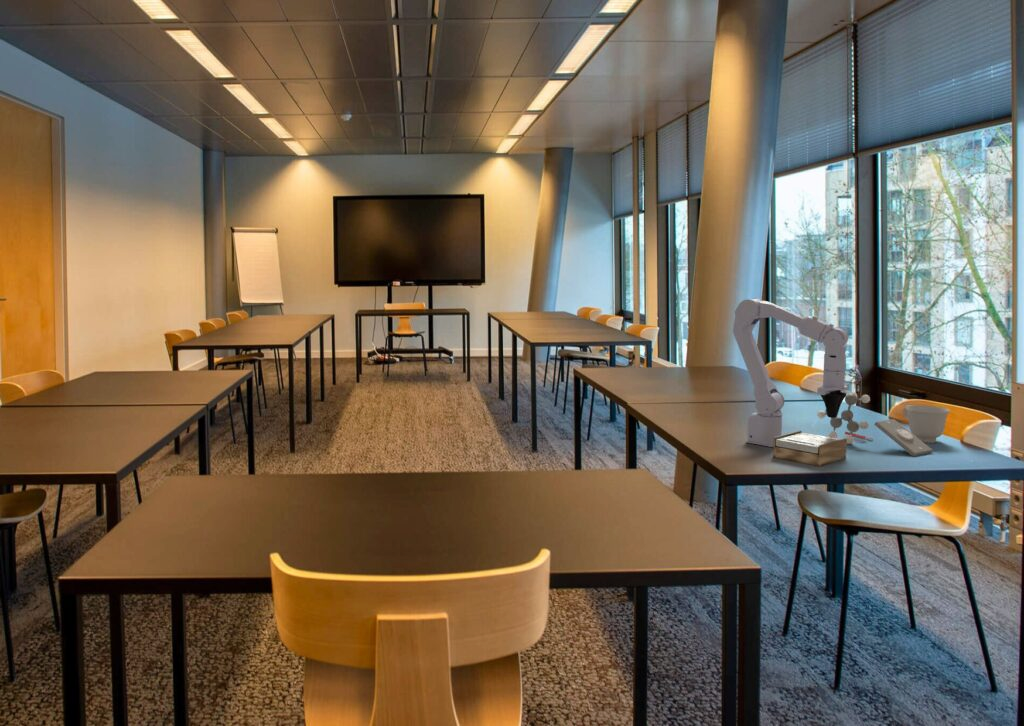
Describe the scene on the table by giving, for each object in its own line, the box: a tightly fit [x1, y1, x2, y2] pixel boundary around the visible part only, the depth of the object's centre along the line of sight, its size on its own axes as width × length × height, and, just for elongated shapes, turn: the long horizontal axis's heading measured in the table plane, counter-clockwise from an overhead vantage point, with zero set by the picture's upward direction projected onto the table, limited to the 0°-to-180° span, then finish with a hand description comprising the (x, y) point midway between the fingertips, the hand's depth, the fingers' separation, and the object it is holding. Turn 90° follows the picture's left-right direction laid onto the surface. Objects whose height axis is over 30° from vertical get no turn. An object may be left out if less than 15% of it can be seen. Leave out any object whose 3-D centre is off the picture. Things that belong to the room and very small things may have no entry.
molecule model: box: [816, 390, 874, 445], centre depth 240 cm, size 20×16×16 cm
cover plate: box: [776, 432, 841, 454], centre depth 217 cm, size 12×14×2 cm
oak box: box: [772, 430, 847, 467], centre depth 217 cm, size 14×14×6 cm
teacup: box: [902, 404, 951, 444], centre depth 239 cm, size 12×15×10 cm
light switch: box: [874, 418, 934, 457], centre depth 226 cm, size 8×6×14 cm
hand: (832, 417), depth 224 cm, fingers closed
